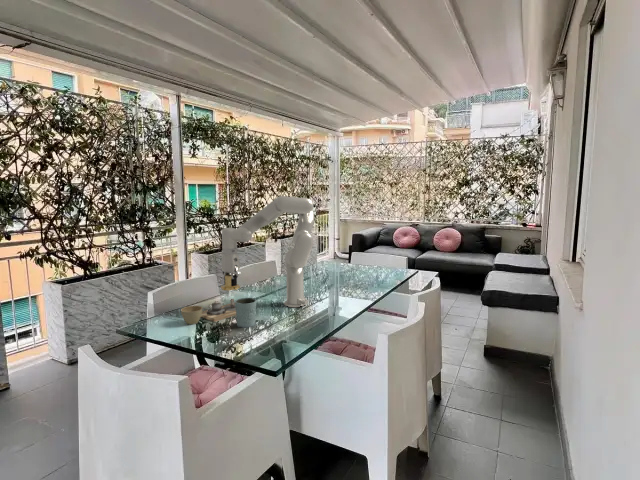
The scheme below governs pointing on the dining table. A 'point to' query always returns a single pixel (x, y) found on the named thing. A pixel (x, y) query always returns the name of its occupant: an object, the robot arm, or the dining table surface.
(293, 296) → the robot arm
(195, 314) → the flower pot
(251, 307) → the grey cup
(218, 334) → the dining table surface
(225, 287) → the brass gear
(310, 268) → the dining table surface
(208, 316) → the gear board
